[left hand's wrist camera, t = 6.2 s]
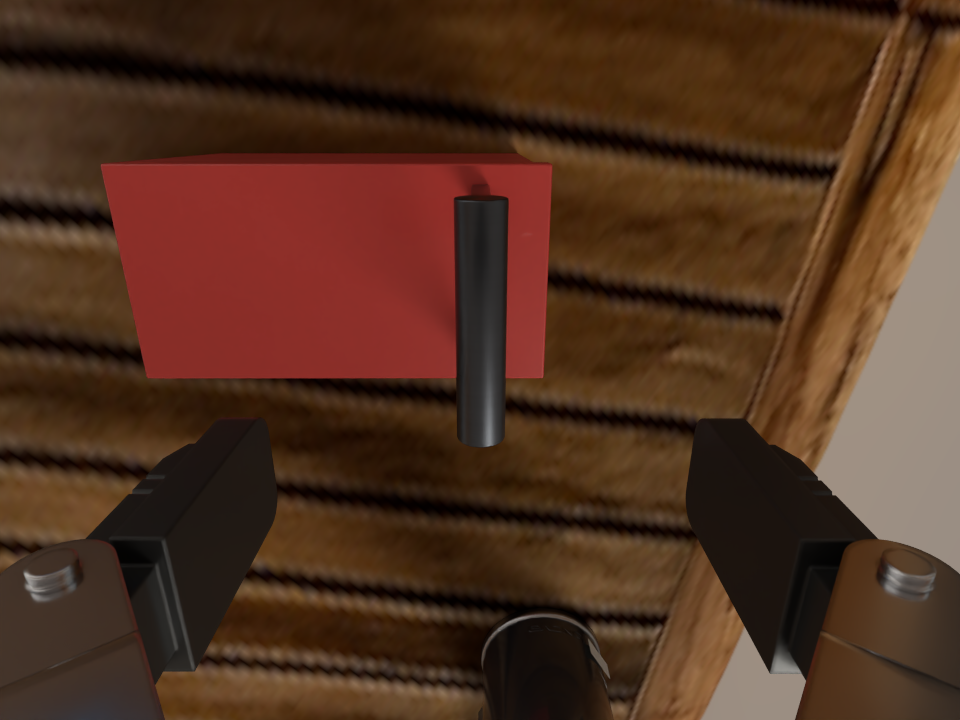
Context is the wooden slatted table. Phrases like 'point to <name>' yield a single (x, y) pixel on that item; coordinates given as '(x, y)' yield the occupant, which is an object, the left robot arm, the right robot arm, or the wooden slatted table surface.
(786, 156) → the wooden slatted table surface
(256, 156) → the chest
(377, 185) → the lid
